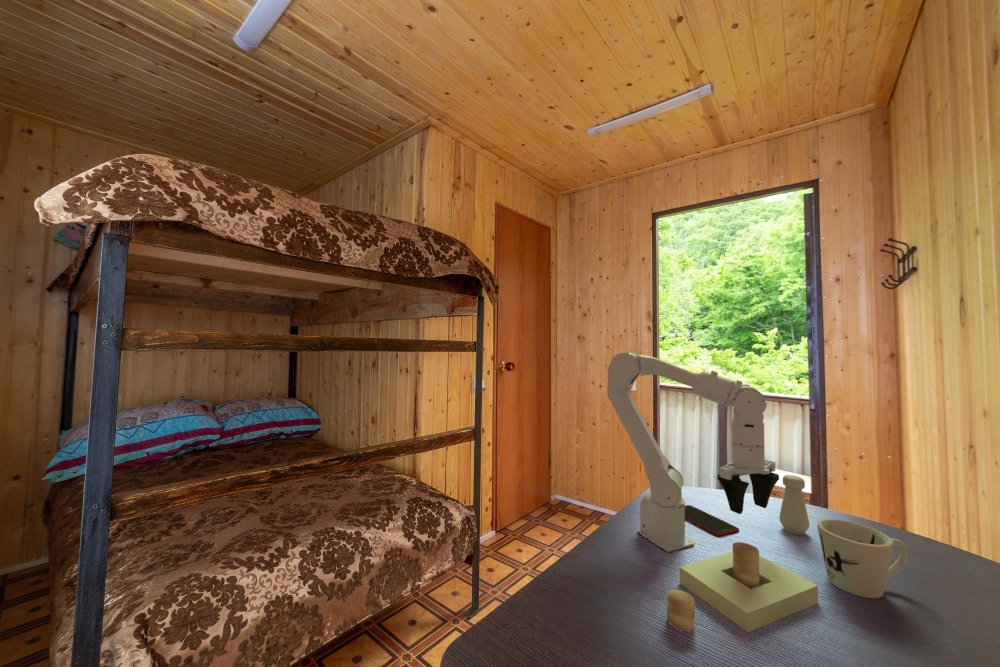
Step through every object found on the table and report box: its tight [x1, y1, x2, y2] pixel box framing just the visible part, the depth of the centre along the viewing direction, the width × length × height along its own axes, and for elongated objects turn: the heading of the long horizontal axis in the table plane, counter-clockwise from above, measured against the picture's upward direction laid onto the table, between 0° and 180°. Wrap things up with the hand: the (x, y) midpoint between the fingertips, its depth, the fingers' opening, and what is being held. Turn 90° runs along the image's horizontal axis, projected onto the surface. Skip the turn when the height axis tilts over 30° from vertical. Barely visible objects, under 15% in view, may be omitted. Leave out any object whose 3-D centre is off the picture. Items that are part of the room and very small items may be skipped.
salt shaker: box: [778, 474, 810, 536], centre depth 91 cm, size 6×6×13 cm
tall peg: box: [732, 541, 760, 589], centre depth 68 cm, size 4×4×8 cm
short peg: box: [666, 589, 696, 633], centre depth 61 cm, size 4×4×4 cm
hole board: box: [679, 550, 819, 634], centre depth 68 cm, size 13×18×3 cm
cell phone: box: [685, 504, 740, 538], centre depth 96 cm, size 8×15×1 cm, turn 23°
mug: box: [816, 518, 909, 599], centre depth 71 cm, size 10×15×10 cm
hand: (748, 508), depth 79 cm, fingers open, 7 cm apart
